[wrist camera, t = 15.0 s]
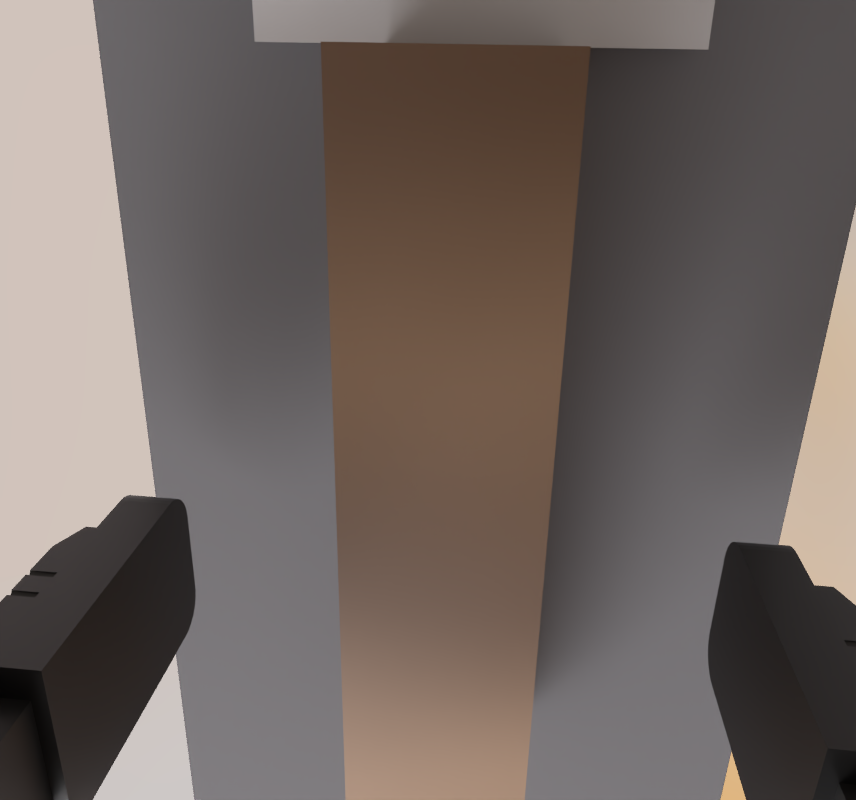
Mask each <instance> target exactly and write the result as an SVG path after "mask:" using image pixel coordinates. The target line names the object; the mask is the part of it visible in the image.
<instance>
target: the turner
mask: <svg viewBox="0 0 856 800" xmlns="http://www.w3.org/2000/svg"><path fill="white" fill-rule="evenodd" d="M714 5H715V0H252V6H253V22H254V38H255V42H298V43H321V68H322V99H323V129H324V159H325V190H326V220H327V251H328V281H329V311H330V342H331V372H332V402H333V433H334V463H335V494H336V524H337V554H338V585H339V615H340V646H341V676H342V706H343V737H344V767H345V798H346V800H525V790H526V778H527V767H528V756H529V744H530V733H531V721H532V710H533V699H534V687H535V676H536V664H537V653H538V641H539V630H540V619H541V607H542V596H543V584H544V573H545V562H546V550H547V539H548V527H549V516H550V505H551V493H552V482H553V470H554V459H555V448H556V436H557V425H558V413H559V402H560V390H561V379H562V368H563V356H564V345H565V333H566V322H567V311H568V299H569V288H570V276H571V265H572V254H573V242H574V231H575V219H576V208H577V196H578V185H579V174H580V162H581V151H582V139H583V128H584V117H585V105H586V94H587V82H588V71H589V60H590V48H640V49H697V50H708V48H709V41H710V33H711V26H712V19H713V12H714Z"/></svg>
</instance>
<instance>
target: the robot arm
mask: <svg viewBox="0 0 856 800" xmlns="http://www.w3.org/2000/svg"><path fill="white" fill-rule="evenodd" d="M195 599H196V589H195V579H194V570H193V561H192V552H191V543H190V534H189V525H188V516H187V510H186V507H185V505H184V503H183V501H182V500H180V499H173V498H159V497H145V496H131V495H129V496H126V497H124V498H123V499H122V500H121V501H120V502H119V503H118V504H117V505H116V507H115V508H114V509H113V510H112V511H111V512H110V513H109V515H108V516H107V517H106V518H105V519H104V520H103V521H102V522H101V524H100V525H99V526H98V527H97V528H93V527H85V528H83V529H82V530H80V531H78V532H77V533H75V534H73V535H71V536H70V537H68V538H66V539H65V540H63V541H61V542H59V543H58V544H56V545H54V546H53V547H52V548H51V549H50V550H49V551H48V552H47V553H46V554H45V555H44V556H43V557H42V558H41V559H40V560H39V562H38V563H37V564H36V565H35V566H34V567H33V568H32V569H31V570H30V575H25V576H24V577H23V578H22V580H21V581H20V582H19V583H18V584H17V585H16V586H15V587H14V588H13V589H12V593H11V595H7V596H6V597H5V598H4V599H3V600H2V601H1V602H0V800H93V798H94V796H95V794H96V793H97V791H98V789H99V787H100V786H101V784H102V782H103V780H104V779H105V777H106V775H107V773H108V772H109V770H110V768H111V766H112V765H113V763H114V761H115V759H116V758H117V756H118V754H119V752H120V751H121V749H122V747H123V745H124V744H125V742H126V740H127V738H128V737H129V735H130V733H131V731H132V730H133V728H134V726H135V724H136V722H137V721H138V719H139V717H140V716H141V714H142V712H143V710H144V709H145V707H146V705H147V703H148V701H149V700H150V698H151V696H152V695H153V693H154V691H155V689H156V688H157V685H158V684H159V682H160V681H161V679H162V677H163V675H164V674H165V672H166V670H167V668H168V666H169V665H170V663H171V661H172V660H173V658H174V656H175V654H176V653H177V651H178V649H179V647H180V646H181V644H182V642H183V640H184V638H185V637H186V635H187V633H188V631H189V628H190V625H191V622H192V619H193V614H194V609H195ZM708 665H709V674H710V680H711V684H712V687H713V690H714V694H715V697H716V700H717V704H718V707H719V710H720V714H721V717H722V720H723V724H724V727H725V730H726V734H727V737H728V740H729V744H730V747H731V750H732V754H733V757H734V760H735V764H736V767H737V770H738V774H739V777H740V780H741V784H742V787H743V790H744V794H745V797H746V800H856V605H854V604H853V603H852V602H851V601H850V600H848V599H847V598H846V597H845V596H844V595H842V594H841V593H840V592H839V591H838V590H836V589H835V588H834V587H826V586H814V584H813V583H812V581H811V579H810V577H809V575H808V573H807V572H806V570H805V568H804V566H803V564H802V562H801V561H800V559H799V557H798V555H797V553H796V552H795V550H794V549H793V548H792V547H791V546H785V545H771V544H758V543H745V542H732V543H730V545H729V546H728V548H727V551H726V554H725V558H724V563H723V568H722V573H721V578H720V583H719V588H718V593H717V598H716V603H715V608H714V613H713V618H712V623H711V628H710V634H709V642H708Z"/></svg>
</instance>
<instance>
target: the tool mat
mask: <svg viewBox="0 0 856 800" xmlns="http://www.w3.org/2000/svg"><path fill="white" fill-rule="evenodd" d="M93 3H94V11H95V20H96V27H97V35H98V43H99V51H100V59H101V67H102V74H103V83H104V90H105V98H106V106H107V114H108V121H109V130H110V138H111V145H112V153H113V161H114V169H115V177H116V184H117V193H118V201H119V209H120V217H121V224H122V232H123V240H124V248H125V256H126V263H127V271H128V280H129V287H130V295H131V303H132V311H133V318H134V327H135V334H136V343H137V350H138V358H139V366H140V374H141V382H142V390H143V398H144V406H145V413H146V421H147V429H148V437H149V445H150V453H151V461H152V469H153V477H154V484H155V492H156V497H159V498H173V499H180V500H182V501H183V503H184V505H185V507H186V510H187V516H188V525H189V534H190V543H191V552H192V561H193V570H194V579H195V589H196V599H195V609H194V614H193V619H192V622H191V625H190V628H189V631H188V633H187V635H186V637H185V638H184V640H183V642H182V644H181V646H180V647H179V649H178V651H177V653H176V657H177V665H178V674H179V681H180V689H181V697H182V704H183V713H184V721H185V728H186V737H187V744H188V752H189V760H190V768H191V776H192V784H193V792H194V799H195V800H346V798H345V767H344V737H343V706H342V676H341V646H340V615H339V585H338V554H337V524H336V494H335V463H334V433H333V402H332V372H331V342H330V311H329V281H328V251H327V220H326V190H325V159H324V129H323V99H322V68H321V43H298V42H255V38H254V22H253V6H252V0H93ZM855 205H856V0H715V5H714V12H713V19H712V26H711V33H710V41H709V48H708V50H697V49H640V48H590V60H589V71H588V82H587V94H586V105H585V117H584V128H583V139H582V151H581V162H580V174H579V185H578V196H577V208H576V219H575V231H574V242H573V254H572V265H571V276H570V288H569V299H568V311H567V322H566V333H565V345H564V356H563V368H562V379H561V390H560V402H559V413H558V425H557V436H556V448H555V459H554V470H553V482H552V493H551V505H550V516H549V527H548V539H547V550H546V562H545V573H544V584H543V596H542V607H541V619H540V630H539V641H538V653H537V664H536V676H535V687H534V699H533V710H532V721H531V733H530V744H529V756H528V767H527V778H526V790H525V800H720V798H721V794H722V790H723V785H724V781H725V776H726V772H727V767H728V763H729V759H730V754H731V747H730V744H729V740H728V737H727V734H726V730H725V727H724V724H723V720H722V717H721V714H720V710H719V707H718V704H717V700H716V697H715V694H714V690H713V687H712V684H711V680H710V674H709V665H708V642H709V634H710V628H711V623H712V618H713V613H714V608H715V603H716V598H717V593H718V588H719V583H720V578H721V573H722V568H723V563H724V558H725V554H726V551H727V548H728V546H729V545H730V543H732V542H745V543H758V544H771V545H778V543H779V539H780V535H781V530H782V526H783V522H784V517H785V512H786V508H787V504H788V500H789V495H790V491H791V487H792V482H793V478H794V473H795V469H796V465H797V460H798V456H799V452H800V447H801V442H802V438H803V434H804V430H805V425H806V421H807V416H808V412H809V408H810V403H811V399H812V394H813V390H814V386H815V381H816V377H817V372H818V368H819V363H820V359H821V355H822V351H823V346H824V342H825V337H826V332H827V328H828V324H829V320H830V315H831V311H832V307H833V302H834V298H835V293H836V289H837V285H838V280H839V275H840V271H841V267H842V263H843V258H844V254H845V250H846V245H847V240H848V236H849V232H850V227H851V223H852V219H853V214H854V210H855Z"/></svg>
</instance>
